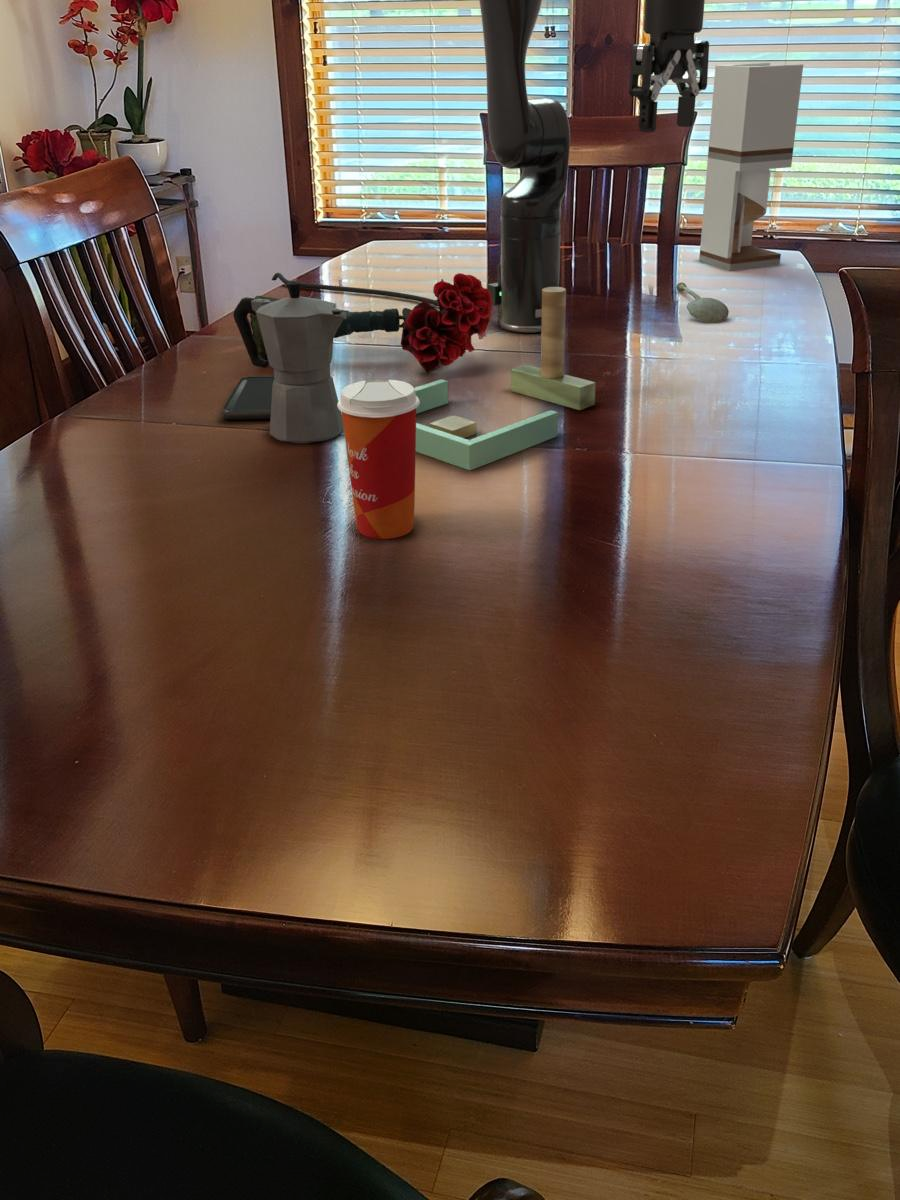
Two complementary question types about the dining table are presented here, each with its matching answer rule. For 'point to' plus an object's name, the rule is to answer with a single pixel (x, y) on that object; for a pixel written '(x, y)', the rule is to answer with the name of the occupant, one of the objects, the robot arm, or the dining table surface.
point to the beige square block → (455, 426)
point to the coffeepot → (296, 362)
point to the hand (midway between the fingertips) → (666, 129)
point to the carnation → (423, 322)
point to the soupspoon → (704, 306)
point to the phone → (250, 399)
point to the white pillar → (746, 157)
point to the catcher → (484, 446)
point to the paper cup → (381, 454)
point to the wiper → (553, 361)
